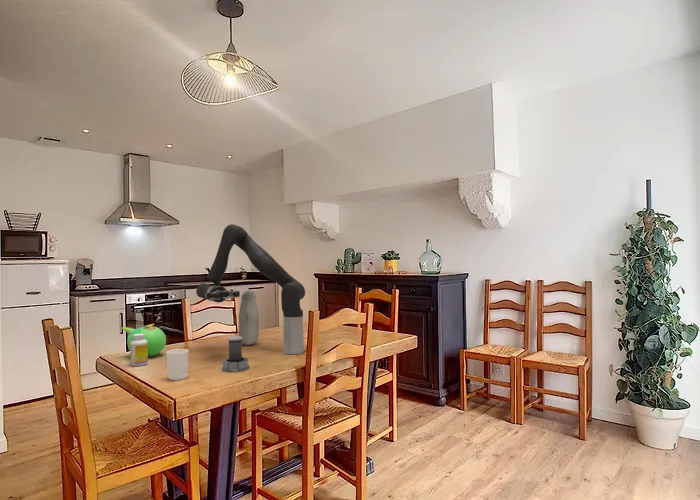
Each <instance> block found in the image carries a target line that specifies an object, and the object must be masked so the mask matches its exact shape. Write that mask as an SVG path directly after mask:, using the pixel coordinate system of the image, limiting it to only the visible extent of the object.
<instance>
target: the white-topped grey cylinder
mask: <svg viewBox="0 0 700 500" xmlns="http://www.w3.org/2000/svg"><path fill="white" fill-rule="evenodd" d="M227 341H228V358H229V362H238V361H242V357H243V355H242V350H243V346H242V345H243V343H242V337H241V336H239V335H238V336H237V335H235V336H229V337H227Z"/></svg>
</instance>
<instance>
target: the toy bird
mask: <svg viewBox="0 0 700 500" xmlns="http://www.w3.org/2000/svg"><path fill="white" fill-rule="evenodd" d="M154 325H155V323H151V324H148V325H143V326H142V325H141V326H140V327H137V328H133V327H132V328H131V327H128V326H127V327H126V326H124V327H123V326H122V327H121V329H122V330H123V332H125V333H127V334H129V335H128V337H127V340H126V342H127V348H128V350H129V351H130V343H131V342H132V341H133V335H134V334H145V338H144V339H145V340H147V342H148V357H153V356H155V355H157V354H160V353H161V352H162V351H163V350H164V349H165V347H166V344H167V336H166V334H165V332H164V331H163V330H162V329H161V328H159V327H157V326H154Z"/></svg>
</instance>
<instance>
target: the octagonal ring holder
mask: <svg viewBox="0 0 700 500" xmlns="http://www.w3.org/2000/svg"><path fill="white" fill-rule="evenodd" d="M249 369H250V365H249V358H248V357H243V356H242V361H238V362H229V357H228V358H225V359H223V360H222V367H221V371H222V372H224V373H225V372H226V373H239V372H240V373H241V372H244V371H248V370H249Z"/></svg>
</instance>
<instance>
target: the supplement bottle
mask: <svg viewBox="0 0 700 500" xmlns="http://www.w3.org/2000/svg"><path fill="white" fill-rule="evenodd" d="M144 338H145V334H134V335H133V341H132V342H131V343H130V350H129V351H130V353H129V354H130V357H129V358H130V366H131V367H141V366H145V365H147V364H148V361H149V359H148V342H147V340H145V339H144Z"/></svg>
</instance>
